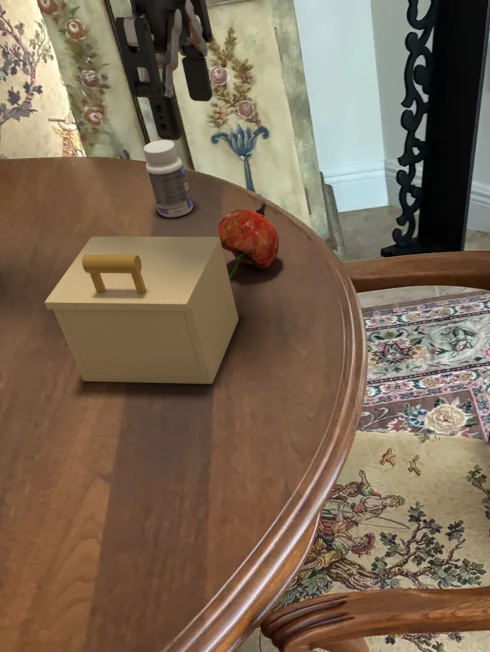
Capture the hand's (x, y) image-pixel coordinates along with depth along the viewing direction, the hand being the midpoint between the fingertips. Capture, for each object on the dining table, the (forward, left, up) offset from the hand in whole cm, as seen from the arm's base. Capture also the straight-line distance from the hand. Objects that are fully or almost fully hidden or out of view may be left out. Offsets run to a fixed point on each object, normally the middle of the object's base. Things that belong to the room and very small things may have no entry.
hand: (187, 118), depth 76 cm
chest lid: (-5, -10, -11) cm, 16 cm away
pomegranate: (+1, +7, -20) cm, 21 cm away
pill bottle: (-13, +22, -20) cm, 33 cm away
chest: (-5, -10, -20) cm, 23 cm away
